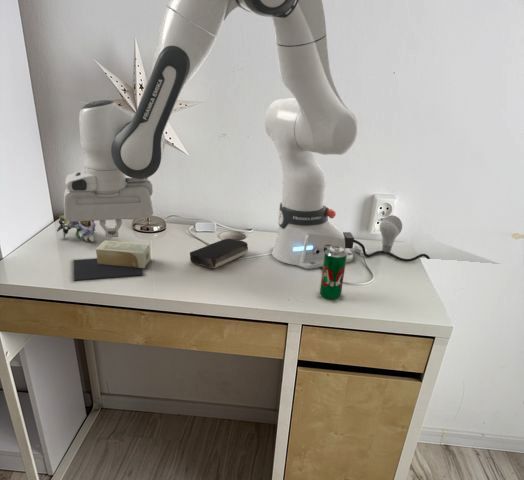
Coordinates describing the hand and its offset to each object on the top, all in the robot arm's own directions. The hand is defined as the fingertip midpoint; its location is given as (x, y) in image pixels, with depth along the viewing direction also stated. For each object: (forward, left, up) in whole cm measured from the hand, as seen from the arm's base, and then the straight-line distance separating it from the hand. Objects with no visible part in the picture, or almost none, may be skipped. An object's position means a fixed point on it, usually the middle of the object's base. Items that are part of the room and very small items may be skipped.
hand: (112, 236), depth 126 cm
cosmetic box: (-8, -1, -6) cm, 10 cm away
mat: (+2, -1, -9) cm, 9 cm away
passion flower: (+9, -22, -9) cm, 25 cm away
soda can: (-48, +25, -9) cm, 55 cm away
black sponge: (-27, -1, -9) cm, 28 cm away
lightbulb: (-75, +3, -9) cm, 76 cm away
